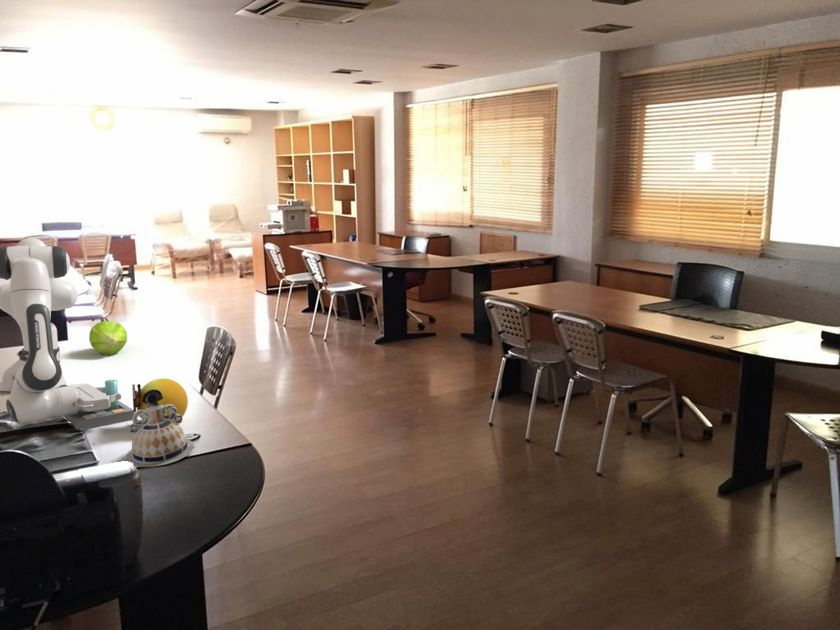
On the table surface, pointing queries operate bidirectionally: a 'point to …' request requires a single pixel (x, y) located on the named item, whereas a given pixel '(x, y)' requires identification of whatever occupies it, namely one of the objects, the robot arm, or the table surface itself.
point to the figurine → (157, 434)
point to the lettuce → (108, 337)
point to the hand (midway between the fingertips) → (114, 392)
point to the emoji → (169, 391)
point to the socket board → (100, 417)
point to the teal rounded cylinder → (112, 393)
